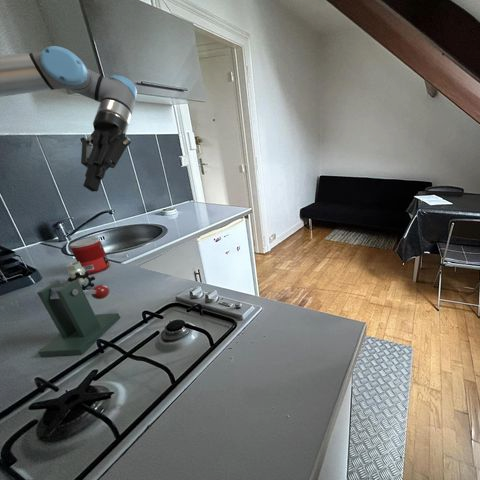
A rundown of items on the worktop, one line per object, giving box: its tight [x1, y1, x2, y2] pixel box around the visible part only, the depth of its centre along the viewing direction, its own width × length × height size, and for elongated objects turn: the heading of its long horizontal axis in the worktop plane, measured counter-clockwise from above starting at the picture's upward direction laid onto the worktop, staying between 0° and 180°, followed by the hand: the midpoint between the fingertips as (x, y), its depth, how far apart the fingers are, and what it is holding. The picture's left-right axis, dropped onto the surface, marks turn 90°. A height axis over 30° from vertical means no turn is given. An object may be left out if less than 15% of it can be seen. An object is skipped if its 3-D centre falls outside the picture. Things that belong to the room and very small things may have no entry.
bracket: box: [36, 280, 121, 358], centre depth 59 cm, size 12×9×14 cm
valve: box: [65, 260, 96, 290], centre depth 83 cm, size 7×7×12 cm
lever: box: [50, 284, 110, 300], centre depth 62 cm, size 13×4×4 cm, turn 179°
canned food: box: [69, 236, 111, 275], centre depth 92 cm, size 8×8×11 cm
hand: (90, 188), depth 68 cm, fingers closed
